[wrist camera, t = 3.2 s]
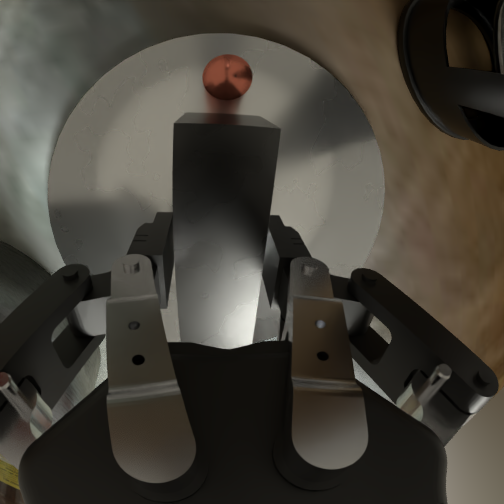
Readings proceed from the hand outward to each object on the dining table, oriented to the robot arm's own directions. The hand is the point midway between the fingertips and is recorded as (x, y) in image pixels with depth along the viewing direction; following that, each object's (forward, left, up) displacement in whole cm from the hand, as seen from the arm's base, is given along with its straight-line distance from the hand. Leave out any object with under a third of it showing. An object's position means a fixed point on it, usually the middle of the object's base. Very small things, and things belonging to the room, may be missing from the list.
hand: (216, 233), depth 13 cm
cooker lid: (0, 0, -2) cm, 2 cm away
